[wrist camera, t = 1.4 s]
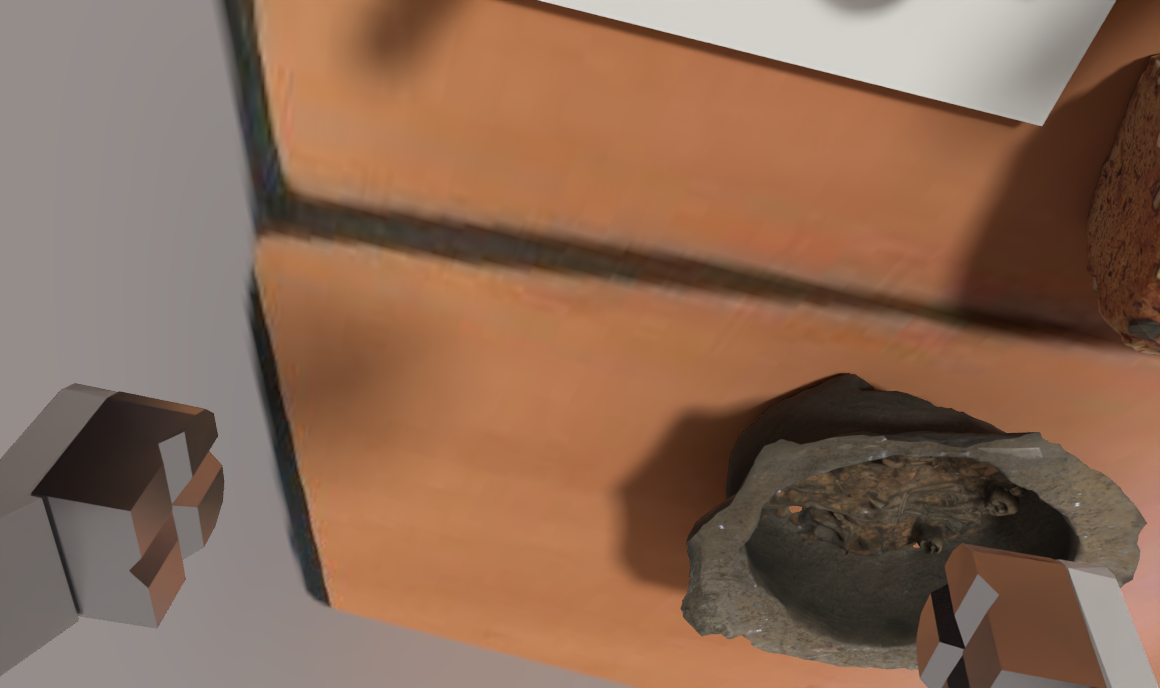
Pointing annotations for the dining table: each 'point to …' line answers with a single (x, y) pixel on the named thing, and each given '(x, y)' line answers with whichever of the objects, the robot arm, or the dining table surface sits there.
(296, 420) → the dining table surface
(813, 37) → the cracker base
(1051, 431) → the dining table surface
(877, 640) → the stone bowl
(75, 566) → the robot arm
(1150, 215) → the bread
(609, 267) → the dining table surface
